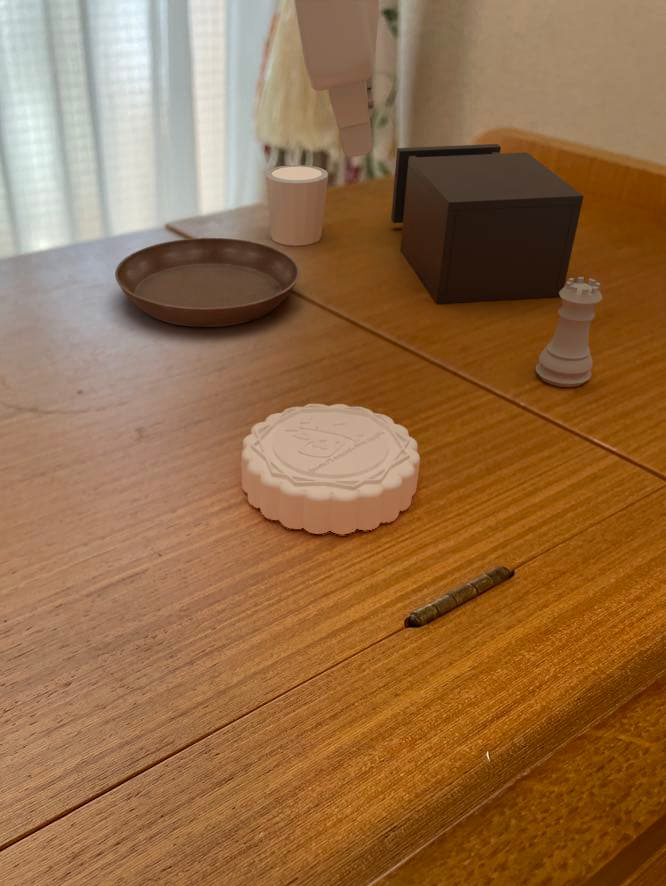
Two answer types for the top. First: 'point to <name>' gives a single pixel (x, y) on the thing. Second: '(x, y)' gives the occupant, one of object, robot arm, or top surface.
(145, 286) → the plant saucer
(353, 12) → the robot arm
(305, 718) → the top surface
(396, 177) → the drawer
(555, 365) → the rook chess piece
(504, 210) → the cabinet
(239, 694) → the top surface
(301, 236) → the pale pink cup
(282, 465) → the mooncake
